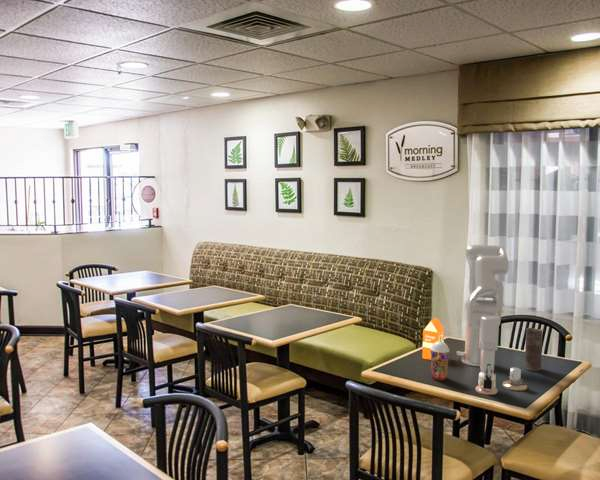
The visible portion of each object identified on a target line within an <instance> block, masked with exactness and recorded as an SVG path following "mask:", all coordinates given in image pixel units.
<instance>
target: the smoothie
mask: <svg viewBox="0 0 600 480" xmlns="http://www.w3.org/2000/svg"><path fill="white" fill-rule="evenodd" d="M430 349H431V360H430V372H431V377H432V379H433V380H435V381H445V380H446V378H447V376H448V367H449V360H450V359H449V357H450V351H451V350H450V348H449V346H448V345H447V343H445V342H444V341H443V342H442V341H441V335H440V341H437V342H435V343H434V344H433V345H432V347H431V348H430Z"/></svg>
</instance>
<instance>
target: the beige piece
mask: <svg viewBox="0 0 600 480" xmlns="http://www.w3.org/2000/svg"><path fill="white" fill-rule="evenodd" d="M509 369H510V370H509V376H507V380H505V381H502V387H503V388H505V389H506V390H510V391H515V392H516V391H517V392H524V391H526V390H528V384H526V383H524V382H523V378H521V376H522V375H521V374H522V369H521V368H519V367H515V366H514V367H510V368H509Z"/></svg>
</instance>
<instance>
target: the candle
mask: <svg viewBox="0 0 600 480" xmlns="http://www.w3.org/2000/svg"><path fill="white" fill-rule="evenodd" d="M542 349H543V329H541V328H534V327H526V328H525V351H524V352H525V353H524V354H525V355H524V367H525V369H527V370H528V371H531V372H539V371H541V370H542V363H543V362H542V357H543V355H542V353H543V350H542Z"/></svg>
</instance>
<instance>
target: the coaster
mask: <svg viewBox="0 0 600 480" xmlns="http://www.w3.org/2000/svg"><path fill="white" fill-rule="evenodd" d="M482 387H483V384H481V387H479V385H476V386H475V391H476V392H477V393H479V394H481V395H485V396H486V395H487V396H490V395H491V396H492V395H493V396H494V395H496V394H498V392H499V391H498V388H497V387H495V388H494V387H493V389H484V388H482Z"/></svg>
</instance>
